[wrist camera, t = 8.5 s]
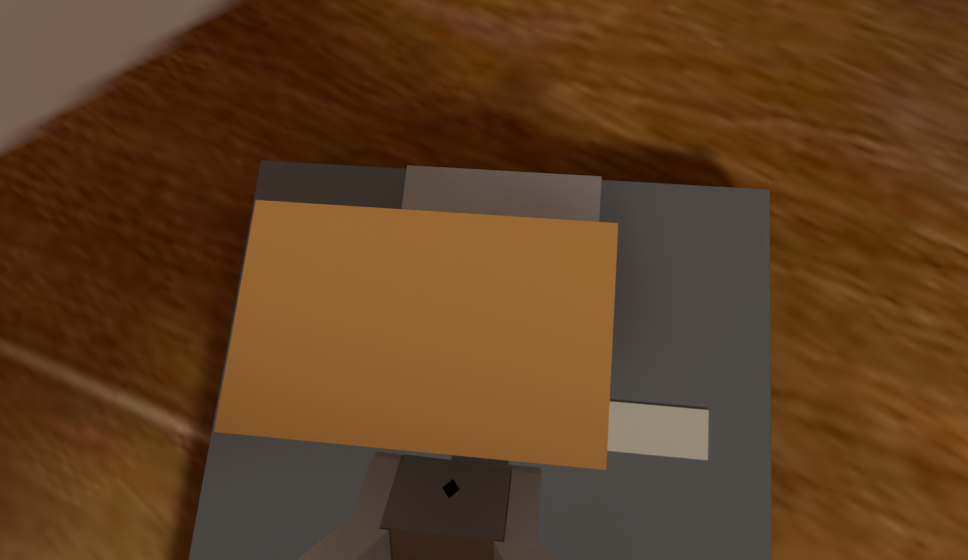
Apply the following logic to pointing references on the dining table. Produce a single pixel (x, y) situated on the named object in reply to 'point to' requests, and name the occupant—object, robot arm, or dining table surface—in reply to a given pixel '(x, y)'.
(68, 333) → the dining table surface
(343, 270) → the fader tab
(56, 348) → the dining table surface
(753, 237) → the board
